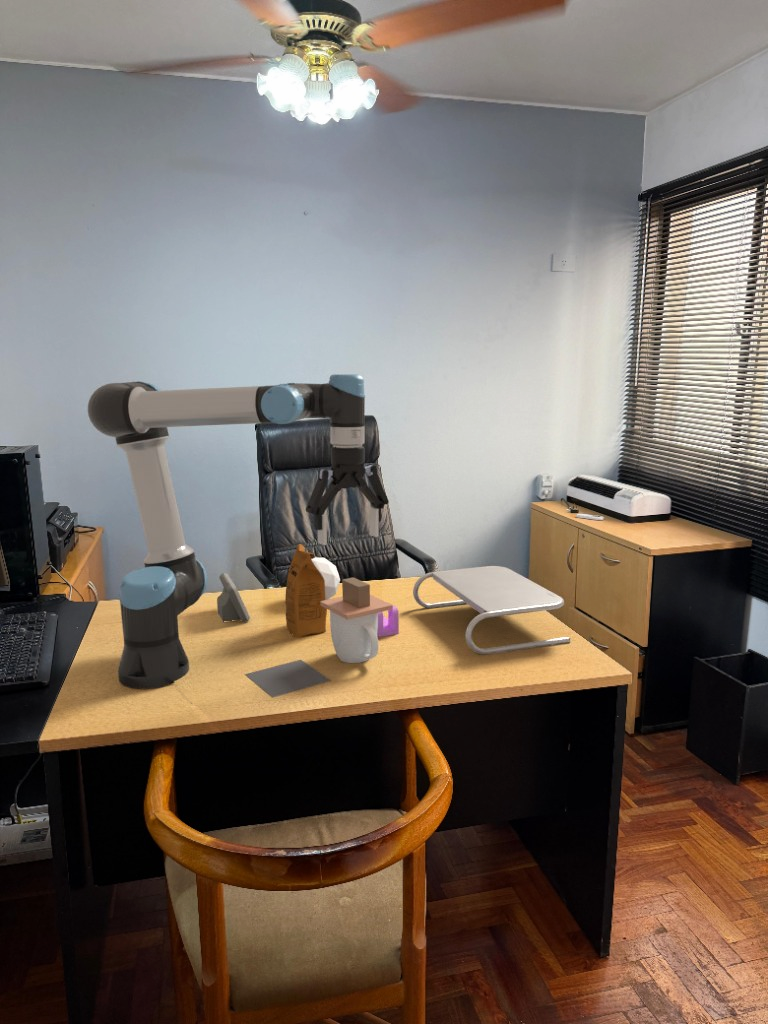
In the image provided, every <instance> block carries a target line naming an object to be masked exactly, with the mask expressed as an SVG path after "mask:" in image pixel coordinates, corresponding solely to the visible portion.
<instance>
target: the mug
mask: <svg viewBox="0 0 768 1024" xmlns="http://www.w3.org/2000/svg"><path fill="white" fill-rule="evenodd" d="M329 621H330V623H329V624H330V625H329V626H330V634H331V635H330V636H331V642H332V645H333V648H334V652H335V654H336V655H337V657H338V659H339V660H340V661H341V662H343V663H347V664H359V663H363V662H366V661H369V660H371V659H374V658H375V657H377V655H378V653H379V637H378V636H377V630H378V614H377V613H375V614H370V615H366V616H362V617H358V618H353V619H349V620H347V619H345V618H343V617H341V616H339V615H338V614H336V613H334V612H332V611H330V610H329Z"/></svg>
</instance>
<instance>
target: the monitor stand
mask: <svg viewBox="0 0 768 1024" xmlns="http://www.w3.org/2000/svg"><path fill="white" fill-rule="evenodd" d="M429 578H432V579H433V580H434V581H435V582H437V583H438V584H439V585H440V586H443V588H445V589H446V590H447V591H449V592H450V593H452V594H453V595H454V596H455V597H457V598H459V599H457V600H449V601H448V600H447V601H441V602H440V601H438V602H432V603H427V602H424V601H423V600H422V599H421V598H420V596H419V588H420V586H421V584H422V583H423V582H424V581H426V580H427V579H429ZM412 596H413V598H414V600H415V602H416V603H417V604H418V605H419V606H421V607H422V608H424V609H436V608H437V609H438V608H446V607H453V606H461V605H468V606H469V607H471V608H473V609H474V610H475V611H477V612H478V613H479V614H477V616H474V617H473V619H471V620H470V622H469V624H468V625H467V627H466V630H465V633H464V634H465V642H466V643H467V645H468V647H469V649H471V651H473V652H475V653H476V654H479V655H492V654H502V653H505V652H507V653H508V652H513V651H518V650H526V649H533V648H539V647H540V648H541V647H549V646H556V645H560V644H568V643H571V638H570V636H565V637H558V638H551V639H544V640H536V641H530V642H523V643H516V644H515V643H514V644H509V645H503V646H501V645H500V646H494V647H488V648H481V647H478V646H477V645H476V644H475V643H474V641H473V637H472V635H473V631H474V628H475V626H477V624H478V623H479V622H481V621H482V620H485V619H487V618H494V617H495V618H496V617H497V618H498V617H502V616H511V615H512V616H513V615H519V614H529V613H534V612H542V611H551V610H557V609H560V608H562V607H564V605H565V600H564V599H563V597H562V596H559V595H558V594H556V593H554V592H553V591H550V590H548V589H547V588H545V587H543V586H541V585H539V584H537V583H536V582H534V581H533V580H530V579H529V578H526V577H525V576H523V575H521V574H519V573H517V572H516V571H514V570H513V569H510V568H509V567H505V566H500V565H499V566H498V565H489V566H488V565H486V566H476V567H467V568H457V569H450V570H449V569H448V570H438V571H431V572H427V573H424V574H423V575H422V576H420V577H419V578H418V579H417V581H415V583H414V586H413V588H412Z"/></svg>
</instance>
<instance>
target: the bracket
mask: <svg viewBox="0 0 768 1024" xmlns="http://www.w3.org/2000/svg"><path fill="white" fill-rule="evenodd" d="M387 613H388V614H387V615H388V616H387V617H385V616H384V611H383V612H379V613H377V614H378V630H377V638H380V637H386V636H392V635H398V634H400V631H399V630H400V629H399V627H400V621H399V620H400V619H399V609H398V607H397V606H396V605H393V609H391V610H387Z"/></svg>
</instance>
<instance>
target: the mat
mask: <svg viewBox="0 0 768 1024" xmlns="http://www.w3.org/2000/svg"><path fill="white" fill-rule="evenodd" d="M244 675H245V676H246V678H248V679H249V680H251V681H252V682H253V683H254V684H255V685H257V686H258V687H259V688H260V689H262V691H264V692H265V693H266V694H267V695H269V696H270V697H271V698H276V697H279V696H282V695H287V694H289V693H292V692H296V691H300V690H303V689H307V688H310V687H314V686H317V685H321V684H325V683H328V682H331V681H332V680H331V679H330V678H328V677H327V676H326V675H324V674H323V673H321V672H320V671H318V670H317V669H316V668H315V667H312V666H311V665H310V664H308V663H306V661H303V660H302V659H298V660H294V661H290V662H287V663H283V664H279V665H275V666H271V667H267V668H264V669H260V670H255V671H253V672H252V671H251V672H248V673H244Z"/></svg>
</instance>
